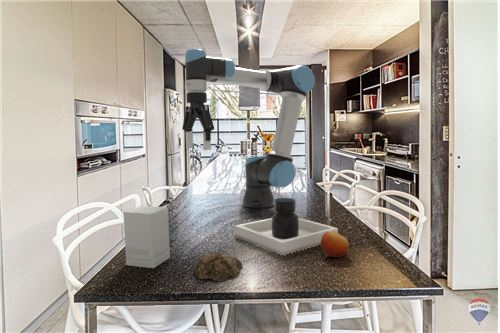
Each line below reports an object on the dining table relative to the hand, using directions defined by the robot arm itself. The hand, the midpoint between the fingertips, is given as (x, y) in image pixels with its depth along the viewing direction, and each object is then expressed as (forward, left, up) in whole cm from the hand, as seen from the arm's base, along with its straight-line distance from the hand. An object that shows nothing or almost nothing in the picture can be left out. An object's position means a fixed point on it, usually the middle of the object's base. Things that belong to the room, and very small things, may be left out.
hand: (198, 149), depth 145 cm
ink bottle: (-12, +36, -28) cm, 47 cm away
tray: (-12, +36, -29) cm, 48 cm away
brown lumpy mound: (+21, +46, -29) cm, 59 cm away
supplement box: (+32, +28, -29) cm, 51 cm away
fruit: (-12, +57, -29) cm, 65 cm away
